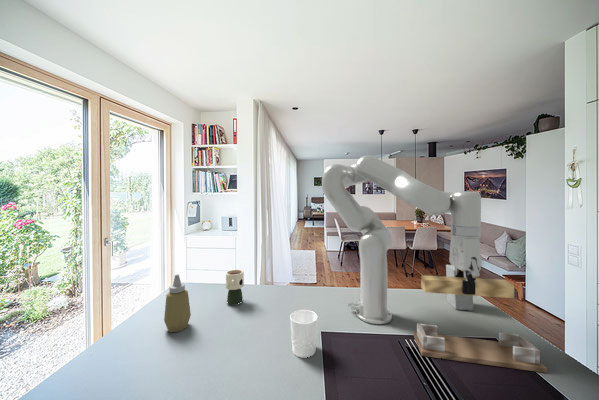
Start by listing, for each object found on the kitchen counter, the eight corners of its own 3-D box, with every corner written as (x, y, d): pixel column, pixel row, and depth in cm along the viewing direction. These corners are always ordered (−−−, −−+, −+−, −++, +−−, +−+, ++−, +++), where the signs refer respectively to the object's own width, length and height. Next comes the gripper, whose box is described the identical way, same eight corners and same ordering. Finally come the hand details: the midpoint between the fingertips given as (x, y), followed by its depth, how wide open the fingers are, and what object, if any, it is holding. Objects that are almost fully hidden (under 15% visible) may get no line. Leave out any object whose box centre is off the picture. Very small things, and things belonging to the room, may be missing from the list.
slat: (425, 292, 75) (425, 279, 75) (421, 287, 79) (421, 275, 79) (514, 298, 70) (514, 284, 70) (505, 292, 74) (505, 279, 74)
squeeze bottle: (196, 324, 84) (195, 273, 83) (175, 337, 76) (174, 280, 76) (179, 319, 87) (179, 269, 87) (158, 331, 80) (157, 277, 79)
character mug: (242, 309, 95) (241, 276, 95) (223, 309, 94) (223, 276, 94) (245, 297, 106) (245, 267, 105) (228, 297, 105) (228, 268, 105)
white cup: (309, 363, 65) (309, 326, 64) (284, 353, 69) (284, 318, 68) (322, 347, 71) (322, 314, 71) (299, 339, 75) (299, 307, 75)
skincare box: (473, 311, 93) (474, 270, 92) (453, 309, 94) (453, 269, 94) (463, 301, 101) (464, 264, 100) (444, 300, 102) (445, 263, 102)
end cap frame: (421, 355, 68) (421, 339, 67) (413, 335, 77) (413, 320, 77) (546, 373, 61) (547, 354, 61) (520, 348, 71) (520, 332, 71)
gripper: (441, 227, 83) (441, 280, 83) (465, 236, 67) (464, 302, 67) (465, 228, 82) (465, 281, 82) (496, 236, 65) (495, 304, 66)
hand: (465, 290), depth 75 cm, fingers closed on slat, 4 cm apart
